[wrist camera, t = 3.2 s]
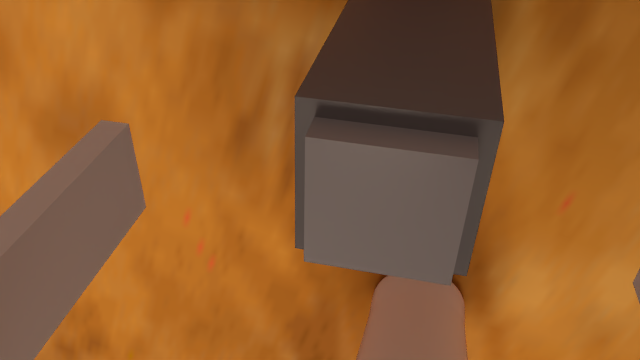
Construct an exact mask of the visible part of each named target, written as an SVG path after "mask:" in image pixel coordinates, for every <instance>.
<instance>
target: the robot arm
mask: <svg viewBox="0 0 640 360" xmlns="http://www.w3.org/2000/svg"><path fill="white" fill-rule="evenodd" d="M145 208H146V205H145V200H144V195H143V190H142V186H141V181H140V176H139V171H138V166H137V162H136V157H135V152H134V147H133V142H132V138H131V133H130V128H129V124H126V123H119V122H111V121H104V120H101V121H100V122H99V123H98V124H97V125H96V126H95V127H94V128H93V129H92V130H91V131H89V132H88V133H87V134H86V135H85V136H84V137H83V138H82V139H81V140H80V141H79V142H78V143H77V144H76V145H75V146H74V147H73V148H72V149H71V150H70V151H68V152H67V153H66V154H65V155H64V156H63V157H62V158H61V159H60V160H59V161H58V162H57V163H56V164H55V165H54V166H53V167H52V168H51V169H50V170H49V171H47V172H46V173H45V174H44V175H43V176H42V177H41V178H40V179H39V180H38V181H37V182H36V183H35V184H34V185H33V186H32V187H31V188H30V189H29V190H28V191H26V192H25V193H24V194H23V195H22V196H21V197H20V198H19V199H18V200H17V201H16V202H15V203H14V204H13V205H12V206H11V207H10V208H9V209H8V210H7V211H6V212H4V213H3V214H2V215H1V216H0V360H34V358H35V357H36V356H37V354H38V353H39V352H40V350H41V349H42V348H43V346H44V345H45V343H46V342H47V341H48V339H49V338H50V337H51V335H52V334H53V333H54V331H55V330H56V329H57V327H58V326H59V324H60V323H61V322H62V320H63V319H64V318H65V316H66V315H67V314H68V312H69V311H70V309H71V308H72V307H73V305H74V304H75V303H76V301H77V300H78V299H79V297H80V296H81V295H82V293H83V292H84V290H85V289H86V288H87V286H88V285H89V284H90V282H91V281H92V280H93V278H94V277H95V276H96V274H97V273H98V271H99V270H100V269H101V267H102V266H103V265H104V263H105V262H106V261H107V259H108V258H109V257H110V255H111V254H112V252H113V251H114V250H115V248H116V247H117V246H118V244H119V243H120V242H121V240H122V239H123V238H124V236H125V235H126V233H127V232H128V231H129V229H130V228H131V227H132V225H133V224H134V223H135V221H136V220H137V219H138V217H139V216H140V214H141V213H142V212H143V210H144V209H145ZM633 285H634V288H635V291H636V294H637V297H638V300H639V303H640V269H639V271H638V273H637V275H636V277H635V279H634V281H633Z"/></svg>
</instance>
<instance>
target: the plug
mask: <svg viewBox="0 0 640 360" xmlns="http://www.w3.org/2000/svg"><path fill="white" fill-rule="evenodd" d="M503 124H504V116H503V107H502V97H501V88H500V79H499V70H498V60H497V51H496V42H495V33H494V23H493V14H492V5H491V0H348V2H347V4H346V6H345V7H344V9H343V11H342V13H341V15H340V16H339V18H338V20H337V22H336V24H335V25H334V27H333V29H332V31H331V32H330V34H329V36H328V38H327V40H326V41H325V43H324V45H323V47H322V49H321V50H320V52H319V54H318V56H317V58H316V59H315V61H314V63H313V65H312V67H311V68H310V70H309V72H308V74H307V76H306V77H305V79H304V81H303V83H302V85H301V86H300V88H299V90H298V92H297V93H296V95H295V248H299V249H304V261H306V262H312V263H318V264H324V265H330V266H336V267H342V268H348V269H353V270H359V271H365V272H371V273H377V274H383V275H389V276H395V277H401V278H407V279H413V280H419V281H425V282H431V283H437V284H443V285H449V286H451V281H452V277H453V274H456V275H462V276H467V272H468V268H469V264H470V260H471V256H472V252H473V247H474V243H475V239H476V235H477V231H478V227H479V223H480V219H481V215H482V210H483V206H484V202H485V198H486V194H487V190H488V186H489V182H490V178H491V174H492V169H493V165H494V161H495V157H496V153H497V149H498V145H499V141H500V137H501V132H502V128H503Z"/></svg>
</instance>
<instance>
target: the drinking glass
mask: <svg viewBox="0 0 640 360" xmlns="http://www.w3.org/2000/svg"><path fill="white" fill-rule="evenodd" d="M356 360H468V356H467V345H466V334H465V304H464V300H463V297H462V295H461V293H460V291H459V289H458V288H457V287H456V286H455V285H454V284H453V283H452V282H451V286H449V285H443V284H437V283H431V282H425V281H419V280H413V279H407V278H401V277H395V276H389V275H387V276H386V277H385V278H383V279H382V280H381V281H380V282H379V284H378V285H377V287H376V288H375V291H374V293H373V297H372V302H371V307H370V313H369V317H368V321H367V324H366V327H365V331H364V334H363V338H362V341H361V344H360V348H359V351H358V354H357V358H356Z"/></svg>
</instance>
